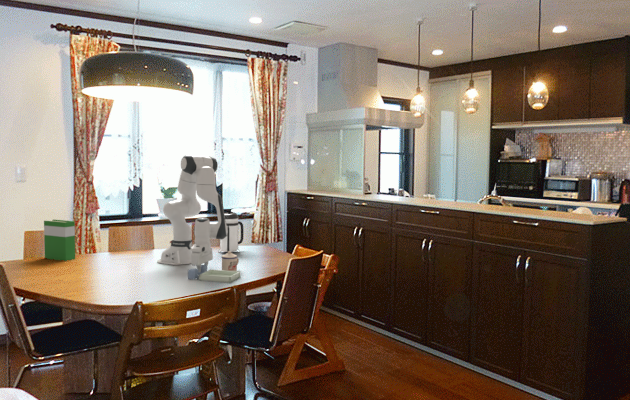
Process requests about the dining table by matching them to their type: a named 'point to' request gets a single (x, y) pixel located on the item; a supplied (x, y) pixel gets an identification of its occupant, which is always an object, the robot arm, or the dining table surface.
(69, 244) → the cereal box
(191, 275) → the blue block
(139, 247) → the dining table surface
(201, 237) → the robot arm
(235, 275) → the sage tray
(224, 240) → the coffee press
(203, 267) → the blue block
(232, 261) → the teacup with lid
